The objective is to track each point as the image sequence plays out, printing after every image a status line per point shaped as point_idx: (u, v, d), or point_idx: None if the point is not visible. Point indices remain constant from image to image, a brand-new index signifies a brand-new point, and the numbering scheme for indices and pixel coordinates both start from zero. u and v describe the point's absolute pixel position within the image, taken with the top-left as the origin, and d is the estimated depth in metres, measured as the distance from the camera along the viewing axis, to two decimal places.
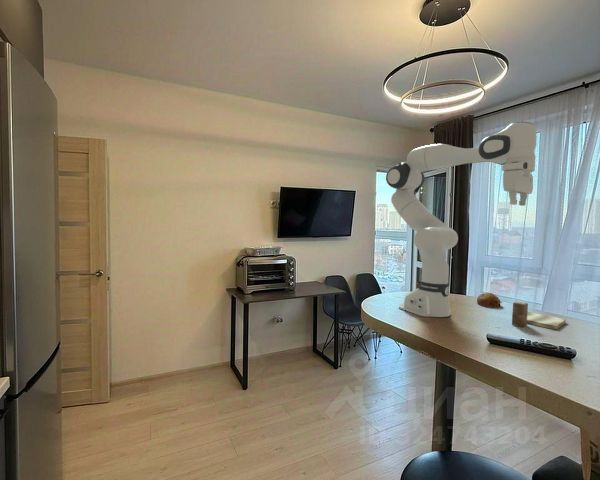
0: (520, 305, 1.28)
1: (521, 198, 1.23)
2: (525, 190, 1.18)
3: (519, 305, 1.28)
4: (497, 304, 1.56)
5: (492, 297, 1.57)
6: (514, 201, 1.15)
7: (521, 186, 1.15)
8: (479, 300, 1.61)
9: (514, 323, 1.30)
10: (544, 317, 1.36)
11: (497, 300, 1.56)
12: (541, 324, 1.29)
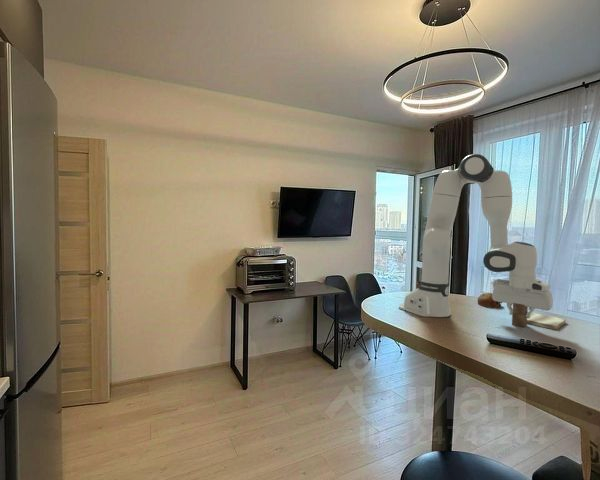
0: (520, 305, 1.28)
1: (510, 307, 1.32)
2: None
3: (519, 305, 1.28)
4: (498, 304, 1.56)
5: None
6: (530, 315, 1.28)
7: None
8: (480, 300, 1.60)
9: (514, 323, 1.30)
10: (544, 317, 1.36)
11: None
12: (541, 324, 1.29)
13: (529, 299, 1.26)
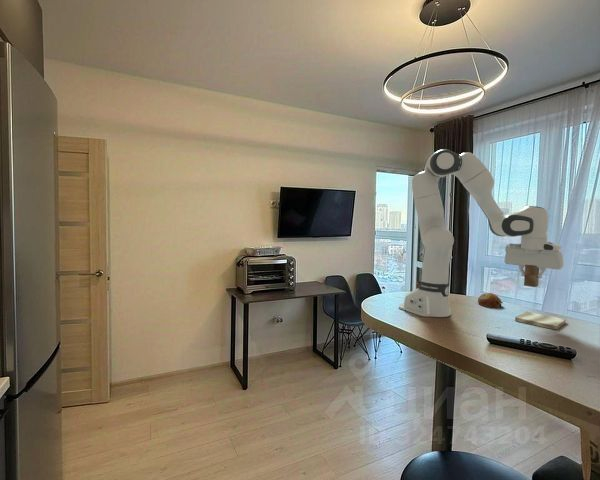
0: (532, 266, 1.35)
1: (522, 270, 1.39)
2: None
3: (531, 266, 1.35)
4: (498, 304, 1.56)
5: (493, 297, 1.57)
6: (541, 275, 1.34)
7: None
8: (480, 300, 1.60)
9: (526, 284, 1.36)
10: (544, 317, 1.36)
11: (498, 300, 1.56)
12: (541, 324, 1.29)
13: (541, 260, 1.32)
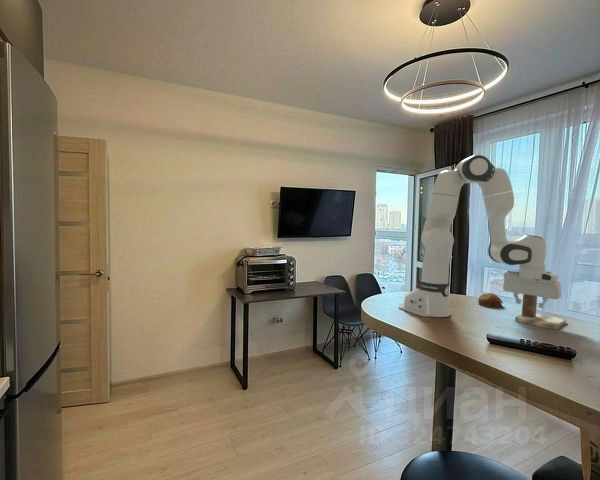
0: (530, 297, 1.36)
1: (516, 297, 1.41)
2: None
3: (529, 297, 1.36)
4: (498, 304, 1.55)
5: (494, 297, 1.57)
6: (543, 305, 1.34)
7: None
8: (480, 300, 1.60)
9: (524, 314, 1.37)
10: (544, 317, 1.36)
11: (498, 300, 1.56)
12: (541, 324, 1.29)
13: (539, 289, 1.33)
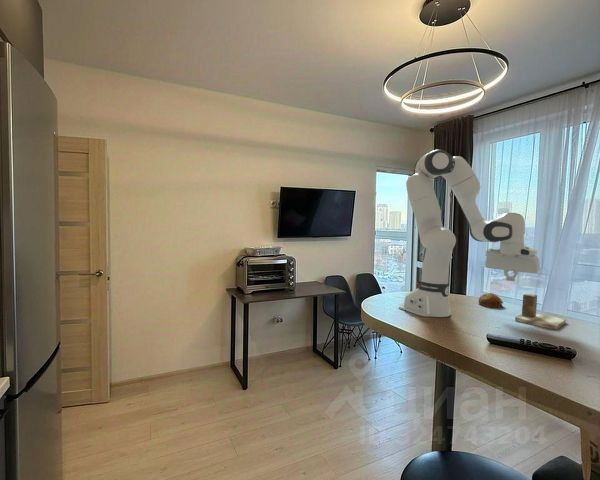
0: (530, 297, 1.36)
1: (506, 274, 1.43)
2: None
3: (529, 297, 1.36)
4: (499, 304, 1.55)
5: (494, 297, 1.57)
6: (514, 278, 1.42)
7: None
8: (481, 300, 1.60)
9: (524, 314, 1.37)
10: (544, 317, 1.36)
11: (499, 300, 1.56)
12: (541, 324, 1.29)
13: (518, 264, 1.39)
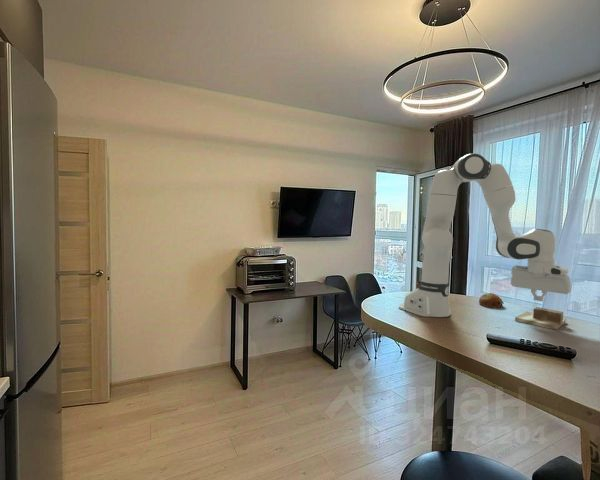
0: (558, 319, 1.28)
1: (534, 293, 1.36)
2: None
3: (558, 318, 1.28)
4: (499, 305, 1.55)
5: (494, 297, 1.56)
6: None
7: None
8: (481, 301, 1.60)
9: (535, 311, 1.34)
10: None
11: (499, 301, 1.55)
12: (541, 324, 1.29)
13: (548, 284, 1.31)
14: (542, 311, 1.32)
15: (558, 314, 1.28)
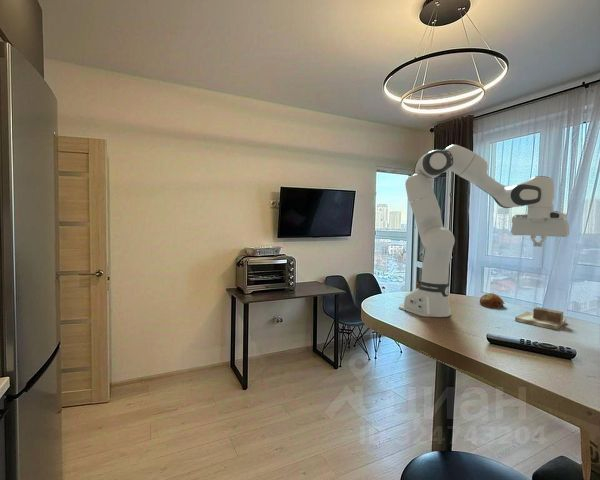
0: (558, 319, 1.28)
1: (534, 240, 1.40)
2: None
3: (558, 318, 1.28)
4: (500, 305, 1.55)
5: (495, 297, 1.56)
6: (542, 244, 1.39)
7: None
8: (482, 301, 1.59)
9: (535, 311, 1.34)
10: None
11: (500, 301, 1.55)
12: (541, 324, 1.29)
13: (547, 229, 1.35)
14: (542, 311, 1.32)
15: (558, 314, 1.28)
